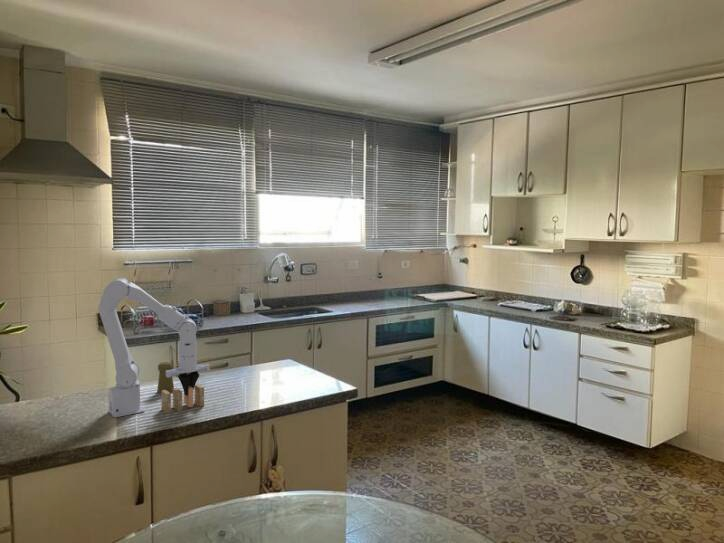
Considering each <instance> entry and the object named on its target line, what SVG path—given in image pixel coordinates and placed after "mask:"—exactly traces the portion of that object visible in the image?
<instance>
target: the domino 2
mask: <svg viewBox="0 0 724 543" xmlns="http://www.w3.org/2000/svg"><path fill="white" fill-rule="evenodd" d="M183 403H184V404H185V405H186V406H187V407H188V408H193V407H194V390H193V387H191V386H189V388H188V396H186V395H185V394H184V393H183Z"/></svg>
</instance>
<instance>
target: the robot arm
mask: <svg viewBox="0 0 724 543" xmlns="http://www.w3.org/2000/svg"><path fill="white" fill-rule="evenodd" d="M125 298H126V300H127V301H137V302H139V303H141V304H142V305H144V306H145V307H147V308H148V309H150V310H151V311H153V312H154V313H156V314H157V316H158V320H159V321H161V322H162V323H164V324H165V325H166V326H168V327H169V328H170V329H172V330H174V331H177V333H178V335H179V341H178V362H179V364H178V365H179V367H176V368H173V369H172V370H167V371H166V377H171V376H172V377H176V376H177V378H178V379H179V381H180V383H181V385H182V389H183V395H184V394H185V395H186V396H188V388H189V386H191V387H193V391H195V388H194V387H195V385H196V384H197V381H198V379H199V378H200V372H209V371H211V369H210V368H211V367H210V364H209V363H205V364H198V359H197V358H198V357H197V356H198V355H197V354H198V352H197V348H198V347H197V344H198V343H197V335H196V334H197V331H198V329H197V323H196V322H195V321H194V320H193V319H192V318H190V317H189V316H188V315H184V314H183V313H182V312H180V311H178V310H177V307H176V306H175V305H173V306H172V305H168V304H167V305H164V304H162V303H161V302H160V301H158V300H157V299H156V298H154V297H153V296H152V295H151V294H149V293H148V292H146V291H145V290H144V289H143V288H142V287H140V286H138V285H137V284H135V283H134V282H131V281H129V280H128V279H127V278H125V277H117V278H115V279H113V280H112V281H110V282H109V283H108V284H107V286H105V288H104V289H103V292H102V296H101V298H100V301H99V304H98V307H97V308H98V313H99V316H100V318H101V322H102V325H103V328H104V331H105V334H106V337H107V340H108V343H109V346H110V350H111V353H112V357H113V358H114V368H115V371H116V374H115V382H116V384H115V386H112V387H109V388H108V391H107V392H108V393H107V394H108V395H107V397H108V399H107V400H108V402H107V403H108V405H107V406H108V409H107V411H108V413H109V414H110V415H111V416H112V417H113V418H119V417H123V416H130V415H133V414H134V415H135V414H140V413H144V412H145V409H144V408H142V407H141V383H140V381H139V380H138V376H139V374H140V367H139V366H138V364H137V363H136V362H135V361H134V357H133V356H132V354H131V353H130V349H129V346H128V344H127V340H126V338H125V334H124V331H123V328H122V324H121V322H120V319H119V316H118V312H117V307H118V306H119V304H120V303H121V301H122V300H124V299H125Z"/></svg>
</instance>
